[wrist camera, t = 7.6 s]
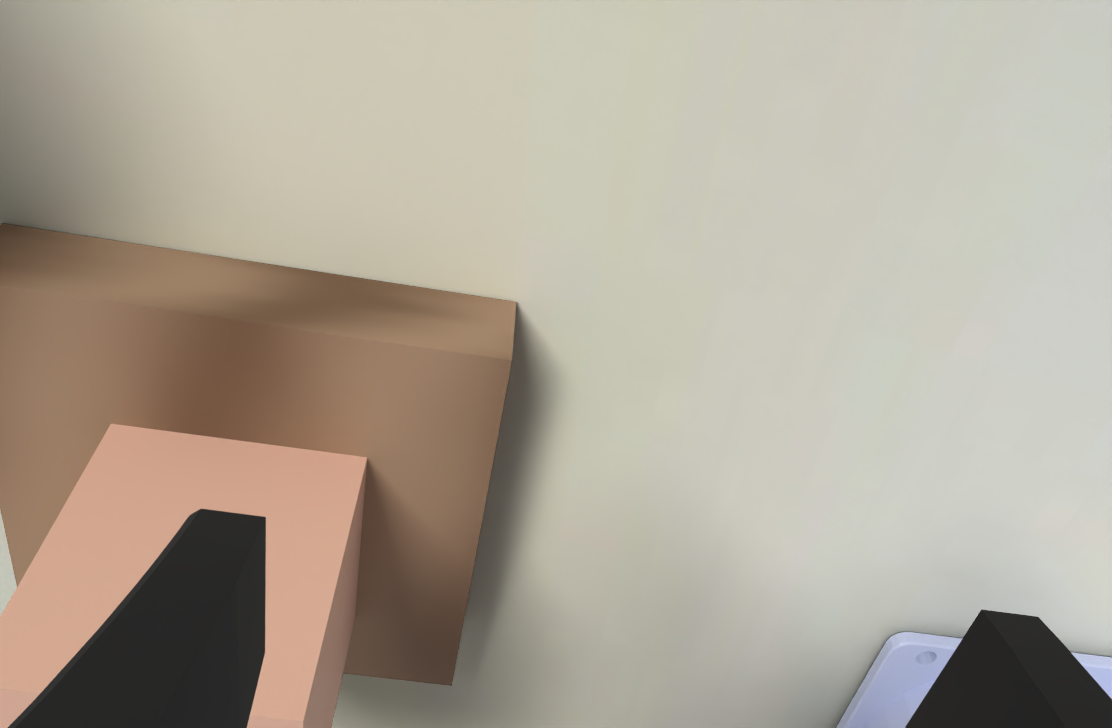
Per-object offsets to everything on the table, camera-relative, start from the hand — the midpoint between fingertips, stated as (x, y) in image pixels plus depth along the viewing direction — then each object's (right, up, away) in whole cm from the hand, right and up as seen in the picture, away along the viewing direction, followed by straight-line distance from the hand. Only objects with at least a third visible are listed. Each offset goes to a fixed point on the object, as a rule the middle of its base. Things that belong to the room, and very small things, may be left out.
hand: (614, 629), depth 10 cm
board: (-7, +1, +13) cm, 14 cm away
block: (-7, -1, +11) cm, 13 cm away
